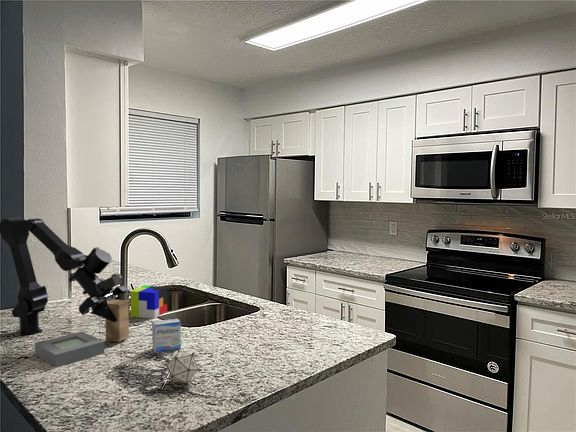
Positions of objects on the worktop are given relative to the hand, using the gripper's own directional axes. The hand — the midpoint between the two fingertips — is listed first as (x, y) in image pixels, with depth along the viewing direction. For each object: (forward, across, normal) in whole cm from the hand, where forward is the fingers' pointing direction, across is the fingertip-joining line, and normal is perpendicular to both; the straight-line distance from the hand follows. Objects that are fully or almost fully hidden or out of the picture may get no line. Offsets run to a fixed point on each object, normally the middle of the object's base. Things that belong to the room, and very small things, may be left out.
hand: (121, 318), depth 143 cm
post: (+4, 0, +6) cm, 7 cm away
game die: (+28, -23, -18) cm, 41 cm away
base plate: (-1, -13, +11) cm, 17 cm away
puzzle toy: (0, +30, +11) cm, 32 cm away
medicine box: (+18, -2, -7) cm, 19 cm away
